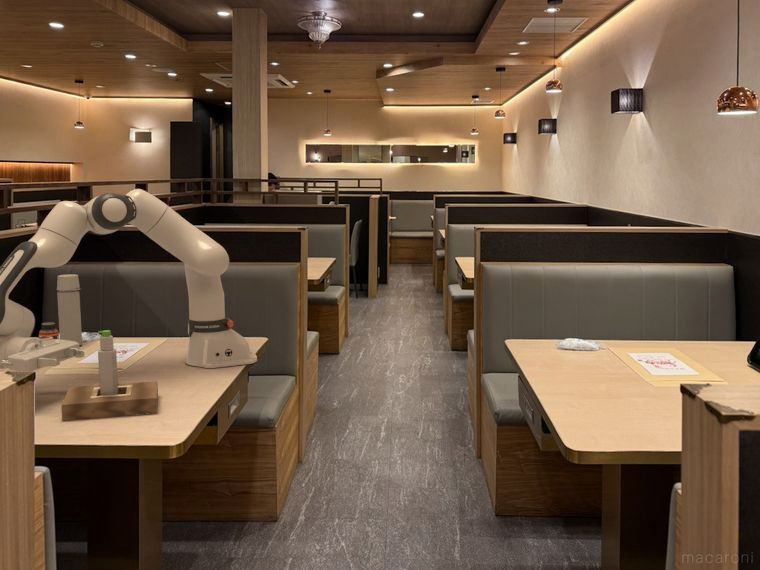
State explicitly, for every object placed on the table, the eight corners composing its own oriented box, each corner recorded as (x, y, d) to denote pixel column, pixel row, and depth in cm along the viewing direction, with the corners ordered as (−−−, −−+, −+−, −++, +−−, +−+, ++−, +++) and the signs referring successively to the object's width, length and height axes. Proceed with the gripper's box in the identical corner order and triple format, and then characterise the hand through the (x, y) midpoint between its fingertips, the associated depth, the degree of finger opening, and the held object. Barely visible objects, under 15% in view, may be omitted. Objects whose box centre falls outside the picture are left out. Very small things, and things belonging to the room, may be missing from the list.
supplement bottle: (40, 360, 239) (38, 325, 237) (39, 356, 244) (37, 322, 242) (60, 358, 241) (58, 324, 240) (59, 354, 247) (57, 321, 245)
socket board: (158, 395, 200) (157, 380, 199) (156, 413, 184) (156, 396, 184) (70, 401, 194) (69, 386, 193) (62, 420, 178) (61, 403, 178)
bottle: (102, 405, 191) (99, 329, 188) (120, 404, 192) (116, 328, 189) (99, 410, 187) (95, 332, 184) (117, 409, 187) (113, 332, 184)
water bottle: (78, 348, 255) (74, 277, 251) (55, 348, 255) (51, 276, 251) (89, 342, 264) (85, 273, 260) (67, 342, 264) (63, 273, 260)
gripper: (-5, 351, 184) (41, 355, 180) (52, 335, 204) (95, 338, 200) (-4, 375, 185) (42, 380, 181) (53, 357, 204) (96, 361, 201)
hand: (70, 358), depth 191 cm, fingers open, 8 cm apart
